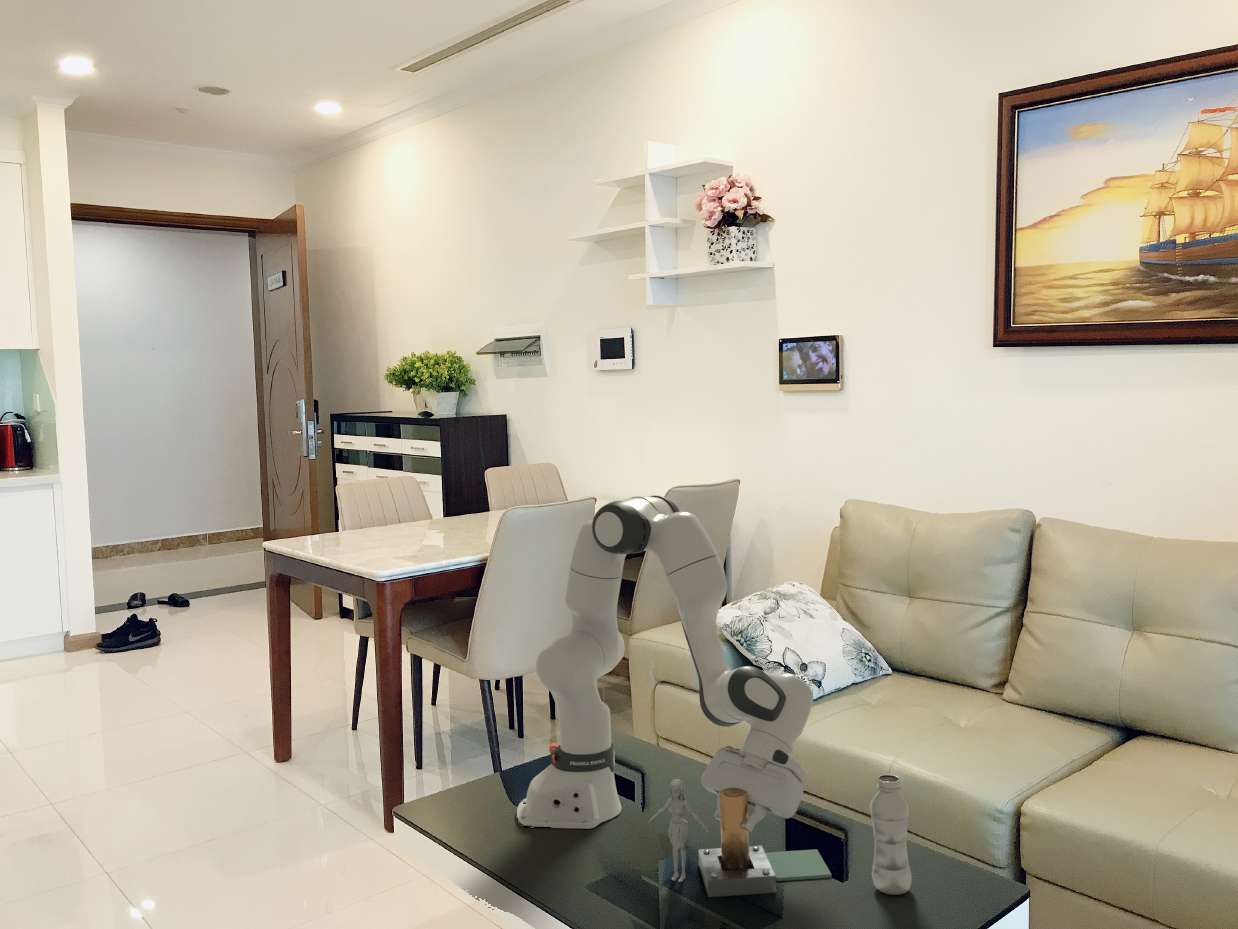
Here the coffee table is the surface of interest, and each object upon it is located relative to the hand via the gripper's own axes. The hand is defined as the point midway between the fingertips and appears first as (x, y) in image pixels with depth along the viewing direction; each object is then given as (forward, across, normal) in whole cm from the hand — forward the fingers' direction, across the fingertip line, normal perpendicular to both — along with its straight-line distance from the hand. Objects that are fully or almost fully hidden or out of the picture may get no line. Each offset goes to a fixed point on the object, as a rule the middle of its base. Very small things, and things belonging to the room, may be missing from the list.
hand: (732, 824), depth 174 cm
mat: (-1, +6, +16) cm, 16 cm away
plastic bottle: (-4, +23, +18) cm, 30 cm away
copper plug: (+5, 0, +6) cm, 7 cm away
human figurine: (+11, -8, +3) cm, 14 cm away
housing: (+7, 0, +8) cm, 10 cm away
